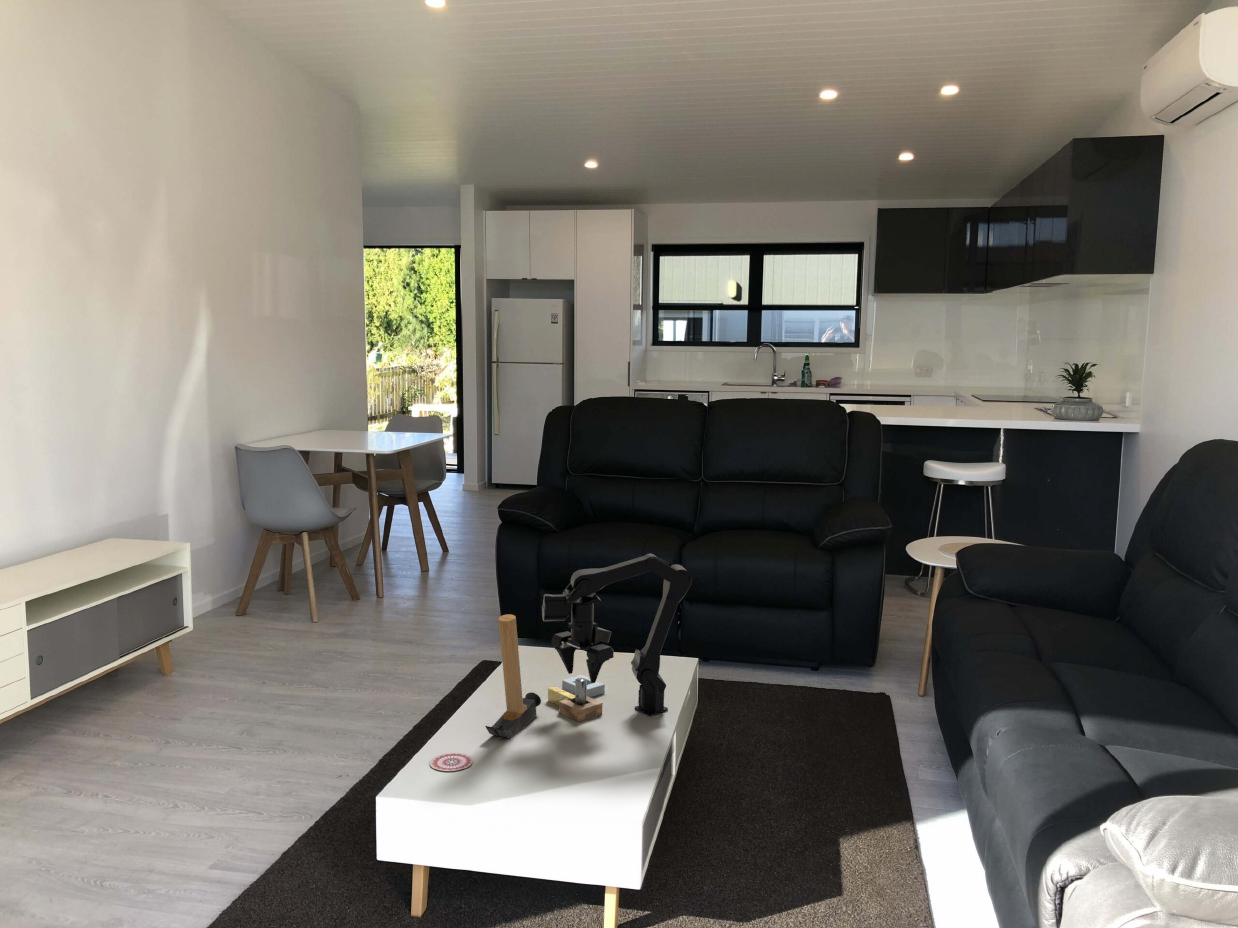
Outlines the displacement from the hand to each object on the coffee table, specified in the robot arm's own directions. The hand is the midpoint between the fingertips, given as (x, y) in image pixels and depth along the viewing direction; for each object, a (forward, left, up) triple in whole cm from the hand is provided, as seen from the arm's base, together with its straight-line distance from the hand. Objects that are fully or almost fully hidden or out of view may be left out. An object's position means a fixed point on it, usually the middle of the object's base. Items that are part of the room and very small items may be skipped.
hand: (581, 678), depth 239 cm
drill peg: (0, 0, -10) cm, 10 cm away
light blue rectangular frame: (+12, -11, -9) cm, 19 cm away
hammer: (+4, +19, -10) cm, 21 cm away
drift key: (+8, 0, -9) cm, 12 cm away
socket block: (0, 0, -9) cm, 9 cm away
